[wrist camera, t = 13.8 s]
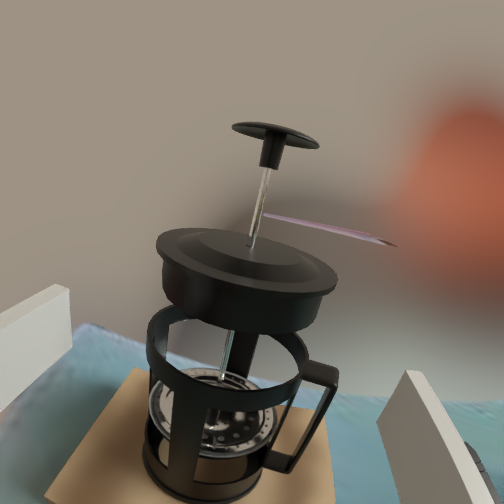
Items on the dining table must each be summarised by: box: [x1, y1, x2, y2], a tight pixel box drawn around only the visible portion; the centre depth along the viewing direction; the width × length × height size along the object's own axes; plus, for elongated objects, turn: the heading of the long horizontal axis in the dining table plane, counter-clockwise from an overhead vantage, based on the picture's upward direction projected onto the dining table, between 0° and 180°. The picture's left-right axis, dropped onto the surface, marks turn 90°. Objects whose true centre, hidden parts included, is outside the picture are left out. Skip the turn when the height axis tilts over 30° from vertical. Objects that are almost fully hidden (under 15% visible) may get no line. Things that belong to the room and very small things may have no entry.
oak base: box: [44, 367, 336, 504], centre depth 19 cm, size 20×18×4 cm
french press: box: [142, 122, 339, 504], centre depth 16 cm, size 12×9×23 cm
